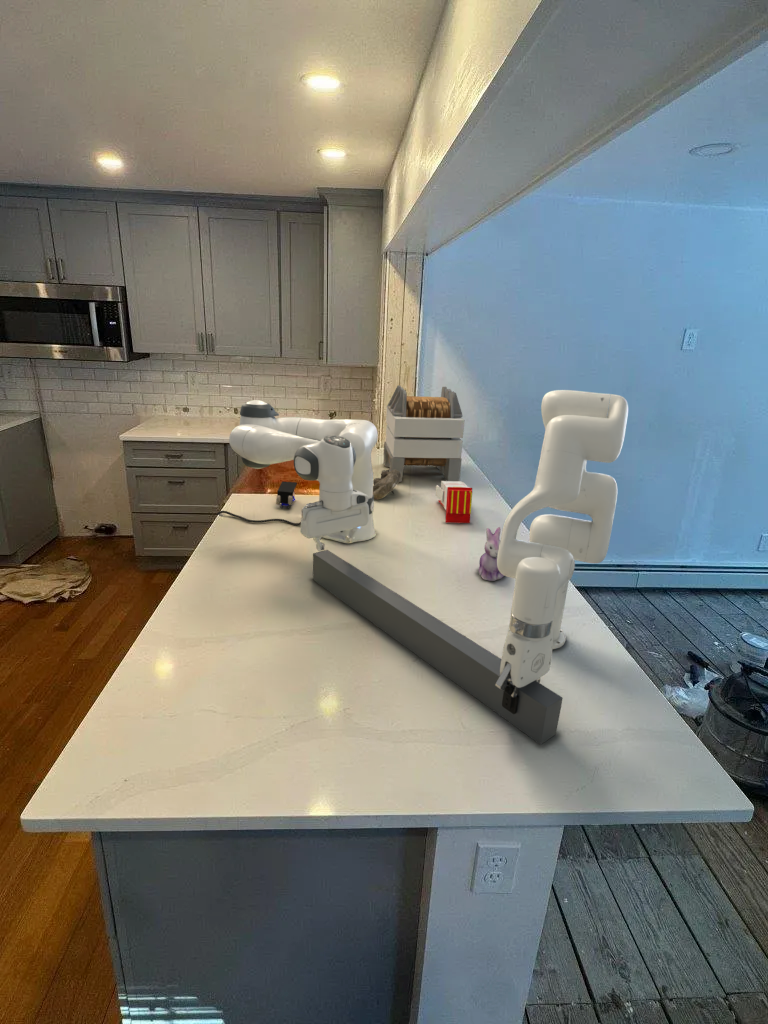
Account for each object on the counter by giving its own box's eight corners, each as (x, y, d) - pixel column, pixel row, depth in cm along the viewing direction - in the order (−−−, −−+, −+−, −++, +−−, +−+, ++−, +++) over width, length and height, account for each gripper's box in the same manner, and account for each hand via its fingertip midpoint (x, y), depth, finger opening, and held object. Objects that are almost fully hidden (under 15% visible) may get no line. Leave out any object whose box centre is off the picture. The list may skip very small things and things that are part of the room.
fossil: (369, 475, 252) (396, 457, 247) (382, 491, 255) (409, 474, 250) (363, 495, 232) (392, 476, 227) (377, 513, 235) (406, 494, 230)
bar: (312, 579, 164) (312, 553, 161) (327, 575, 167) (327, 549, 164) (540, 744, 105) (546, 707, 102) (556, 734, 108) (562, 697, 105)
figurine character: (293, 513, 218) (297, 497, 231) (292, 495, 215) (297, 480, 228) (275, 513, 218) (281, 496, 231) (274, 495, 214) (280, 479, 228)
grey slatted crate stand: (382, 463, 289) (386, 382, 275) (445, 464, 293) (451, 384, 279) (390, 482, 257) (394, 392, 243) (460, 483, 261) (468, 394, 247)
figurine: (489, 584, 165) (495, 537, 160) (469, 570, 174) (474, 524, 169) (515, 579, 169) (521, 532, 164) (493, 565, 178) (499, 520, 173)
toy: (463, 477, 237) (476, 489, 207) (461, 508, 239) (474, 524, 210) (434, 476, 236) (443, 488, 207) (432, 507, 239) (441, 523, 210)
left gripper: (308, 508, 142) (308, 558, 147) (373, 495, 154) (371, 542, 159) (295, 501, 147) (295, 550, 151) (359, 489, 159) (358, 535, 163)
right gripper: (516, 647, 97) (504, 733, 103) (575, 618, 107) (560, 698, 113) (484, 627, 102) (474, 710, 109) (542, 602, 112) (530, 679, 119)
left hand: (335, 546), depth 155 cm, fingers open, 8 cm apart
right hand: (518, 703), depth 111 cm, fingers closed on bar, 4 cm apart
